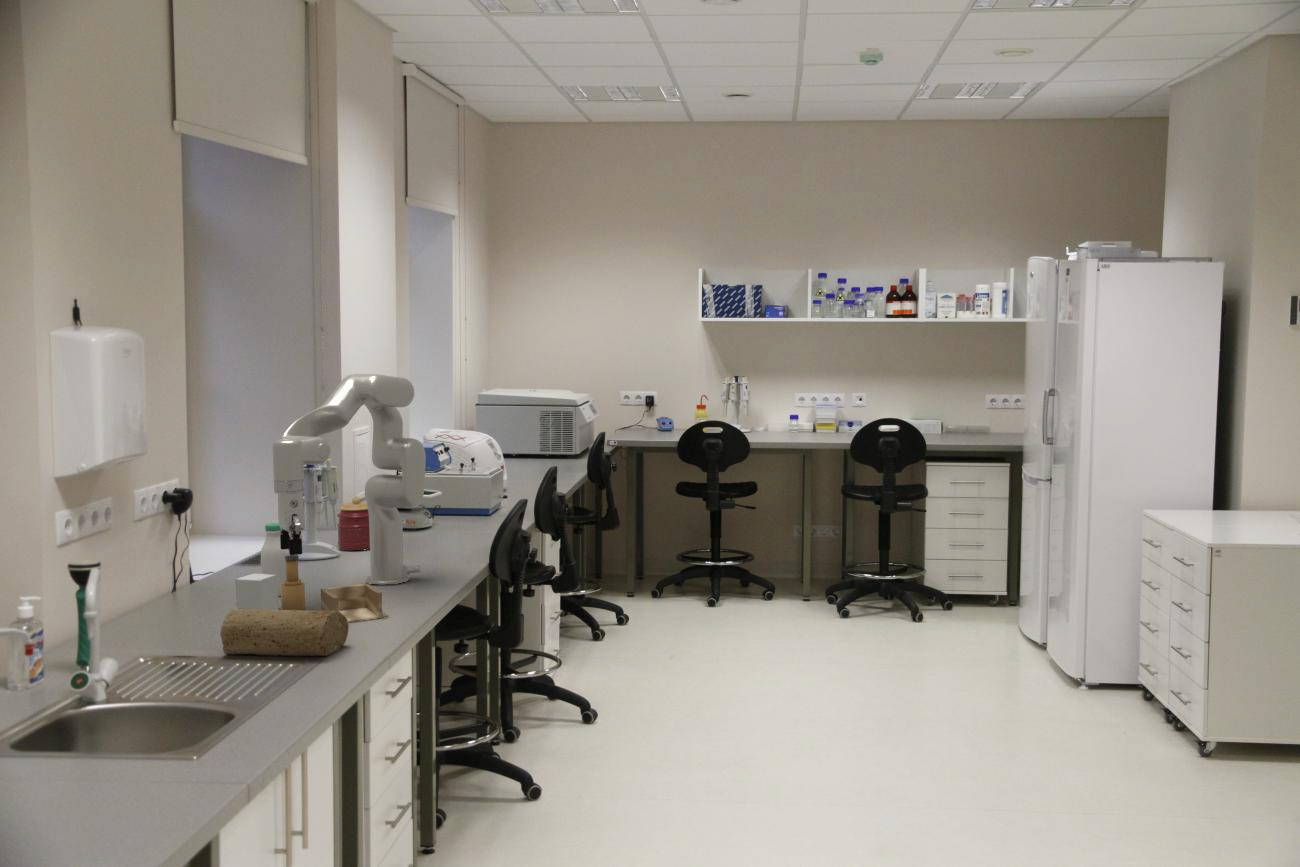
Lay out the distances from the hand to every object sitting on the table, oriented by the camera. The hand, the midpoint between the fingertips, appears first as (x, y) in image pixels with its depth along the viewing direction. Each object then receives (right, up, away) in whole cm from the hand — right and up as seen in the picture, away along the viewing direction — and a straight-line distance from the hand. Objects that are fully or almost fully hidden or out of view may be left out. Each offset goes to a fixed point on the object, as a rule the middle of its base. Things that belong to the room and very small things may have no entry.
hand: (291, 551), depth 309 cm
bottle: (0, -16, +1) cm, 16 cm away
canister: (-6, -9, +94) cm, 95 cm away
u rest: (+17, -16, -3) cm, 23 cm away
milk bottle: (-11, -15, +24) cm, 30 cm away
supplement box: (-4, -18, -13) cm, 22 cm away
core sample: (+9, -20, -37) cm, 43 cm away
